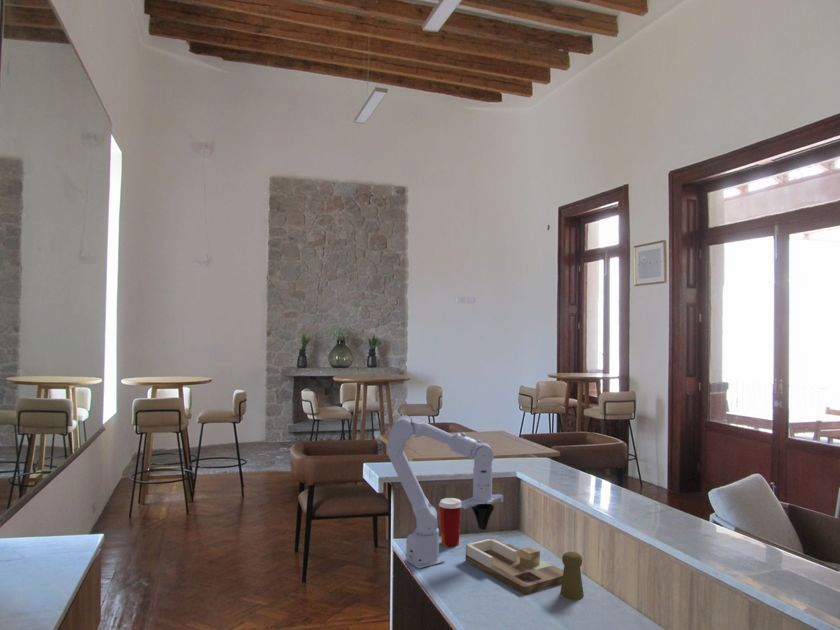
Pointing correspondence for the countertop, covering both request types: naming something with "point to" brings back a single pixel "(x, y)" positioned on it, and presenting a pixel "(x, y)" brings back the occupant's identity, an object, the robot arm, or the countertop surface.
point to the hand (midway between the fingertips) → (482, 528)
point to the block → (529, 557)
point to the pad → (541, 565)
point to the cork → (572, 576)
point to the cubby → (479, 547)
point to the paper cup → (450, 521)
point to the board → (519, 572)
